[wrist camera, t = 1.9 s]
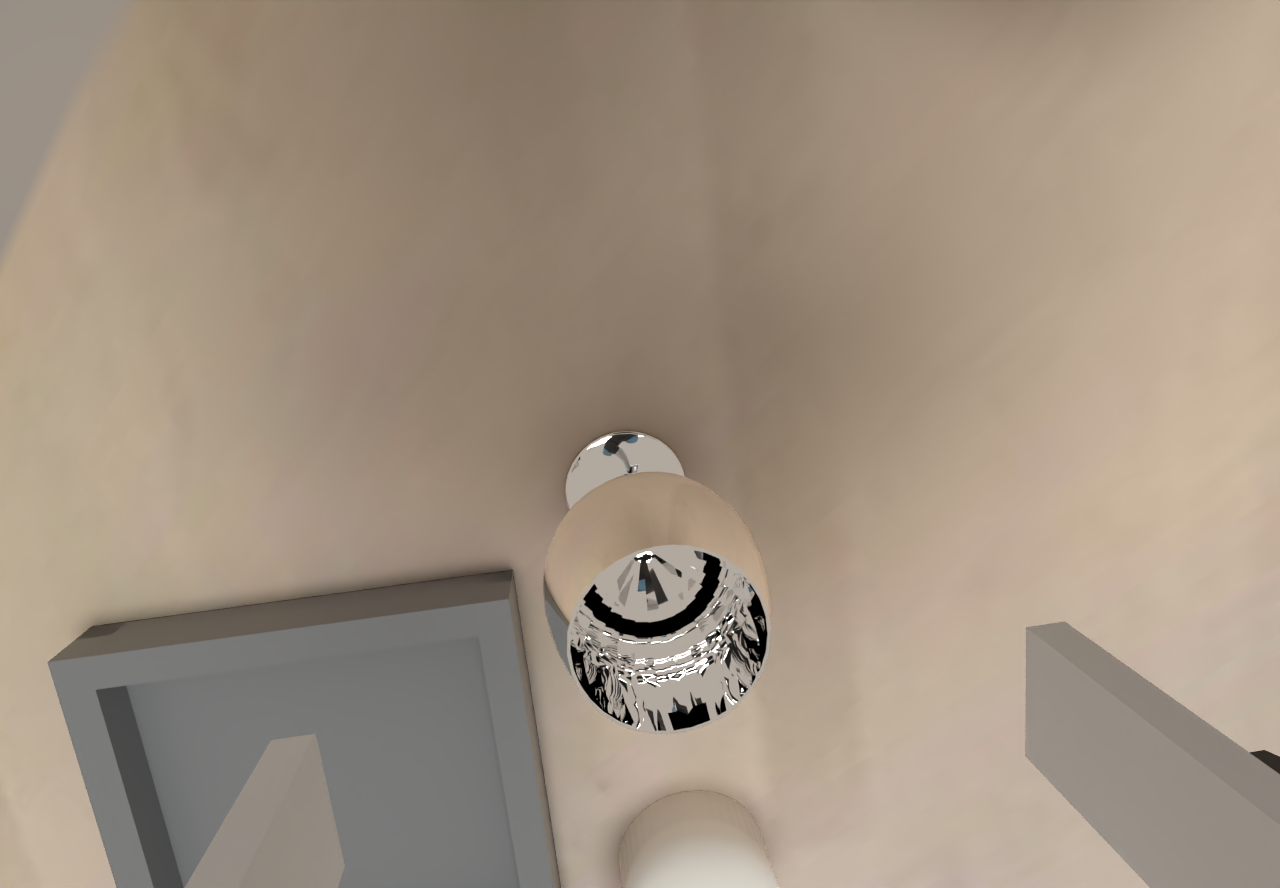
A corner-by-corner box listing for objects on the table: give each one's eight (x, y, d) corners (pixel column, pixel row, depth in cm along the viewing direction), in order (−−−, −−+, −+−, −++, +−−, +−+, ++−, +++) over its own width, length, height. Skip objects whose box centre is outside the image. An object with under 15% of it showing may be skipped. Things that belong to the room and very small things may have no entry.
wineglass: (518, 519, 30) (492, 691, 18) (597, 383, 29) (625, 473, 17) (652, 589, 31) (710, 793, 19) (732, 461, 30) (843, 594, 18)
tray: (91, 626, 29) (47, 662, 27) (512, 570, 30) (508, 598, 28) (190, 968, 33) (160, 1028, 30) (563, 906, 34) (564, 959, 31)
